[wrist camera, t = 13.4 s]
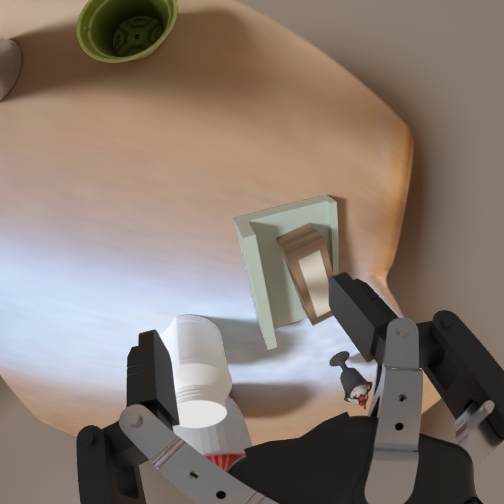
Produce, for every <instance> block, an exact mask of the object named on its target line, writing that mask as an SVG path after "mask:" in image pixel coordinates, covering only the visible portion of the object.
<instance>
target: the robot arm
mask: <svg viewBox="0 0 504 504" xmlns="http://www.w3.org/2000/svg"><path fill="white" fill-rule="evenodd" d="M21 62H22V57H21V50H20V48H19V46H18V44H17V43H15V42H14V41H12V40H8V39H4V38H0V100H2V99H3V98H4V97H5V96H6V95H7V94H8V93H9V92H10V90H11V89H12V87H13V86H14V84H15V82H16V80H17V77H18V75H19V72H20V68H21ZM329 307H330V310H331V312H332V314H333V315H334V316H335V318H336V319H337V321H338V322H339V323H340V325H341V326H342V328H343V329H344V330H345V332H346V333H347V335H348V336H349V337H350V339H351V340H352V342H353V343H354V345H355V346H356V347H357V349H358V350H359V352H360V353H361V355H362V356H363V357H364V359H365V360H366V362H369V361H371V360H373V359H375V360H376V361H377V363H378V364H377V369H376V376H375V383H374V390H373V396H372V401H371V405H370V409H369V413H368V416H352V417H350V416H349V415H348V413H347V412H345V413H342V414H340V415H338V416H336V417H333V418H331V419H329V420H326V421H324V422H322V423H321V424H319V425H318V426H316V427H315V428H314V429H312V430H311V431H309V432H308V433H306V434H305V435H303V436H302V437H300V438H295V439H287V440H277V441H269V442H266V443H263V444H259V445H256V446H252V447H249V448H245V449H244V451H245V455H244V456H242V457H240V458H239V459H237V460H236V461H235V462H234V463H233V464H232V465H231V466H230V467H229V468H228V469H227V470H226V472H225V471H224V470H223V469H221V468H220V467H218V466H217V465H215V464H214V463H213V462H211V461H210V460H209V459H207V458H206V457H205V456H203V455H202V454H201V453H199V452H198V451H197V450H195V449H194V448H193V447H192V446H190V445H189V444H188V443H187V442H185V441H184V440H183V439H181V438H180V437H178V436H177V435H176V434H175V433H174V432H173V426H176V425H180V422H179V415H178V408H177V401H176V394H175V386H174V378H173V369H172V361H171V357H170V354H169V352H168V350H167V348H166V347H165V345H164V343H163V341H162V340H161V338H160V336H159V334H158V332H157V331H156V330H151V331H147V332H143V333H140V334H139V342H138V346H135V347H132V348H131V351H130V353H129V355H128V357H127V368H128V369H127V407H126V409H124V410H123V412H122V413H121V415H120V418H119V421H117V422H116V423H114V424H112V425H110V426H107V427H105V428H103V429H100V428H99V427H97V426H94V425H89V426H86V427H84V428H83V429H82V430H81V431H80V432H79V434H78V436H77V467H78V468H77V469H78V483H79V493H80V502H81V504H146V501H145V496H144V491H143V486H142V481H141V476H140V471H139V465H140V464H142V463H144V462H146V461H148V460H150V461H151V462H152V463H153V465H154V467H155V468H156V469H157V470H158V471H159V472H160V473H161V474H162V475H164V476H165V477H166V478H167V479H168V480H169V481H170V482H171V483H172V484H173V485H175V486H176V487H177V488H178V489H179V490H180V491H182V492H183V493H184V494H185V495H186V496H188V497H189V498H190V499H191V500H193V501H194V502H195V503H197V504H483V503H482V502H481V501H480V500H479V498H478V496H477V494H476V491H475V486H474V477H473V476H474V474H473V473H474V469H473V467H474V466H476V465H477V464H478V463H479V462H481V461H482V460H483V459H484V458H485V457H486V456H487V455H489V454H490V453H491V452H492V451H494V450H495V449H496V448H498V447H499V446H501V445H502V444H503V443H504V371H503V369H502V368H501V367H500V366H499V364H498V363H497V362H496V361H495V359H494V358H493V357H492V356H491V354H490V353H489V352H488V351H487V350H486V348H485V347H484V346H483V345H482V344H481V342H480V341H479V340H478V339H477V338H476V337H475V335H474V334H473V333H472V332H471V331H470V330H469V329H468V328H467V326H466V325H465V324H464V323H463V322H462V321H461V320H460V319H459V317H458V316H457V315H456V314H454V313H453V312H450V311H446V310H443V311H439V312H437V313H436V314H435V315H434V317H433V320H432V321H429V322H424V323H418V324H415V323H414V322H412V321H411V320H409V319H406V318H399V317H398V316H397V315H396V314H395V313H394V312H393V311H392V310H391V309H390V307H389V306H388V305H387V304H386V303H385V302H384V301H383V300H382V299H381V298H379V296H378V295H377V293H376V292H374V290H373V289H372V288H371V287H370V286H369V285H368V284H367V283H365V282H363V281H361V280H359V279H356V280H353V279H352V278H351V277H350V276H349V275H348V274H347V273H346V272H343V273H340V274H337V275H334V276H331V277H330V278H329ZM419 368H422V369H423V371H424V372H425V374H426V375H427V377H428V378H429V380H430V381H431V382H432V384H433V385H434V387H435V388H436V390H437V391H438V393H439V394H440V396H441V397H442V399H443V400H444V402H445V403H446V405H447V407H448V408H449V409H450V411H451V413H452V414H453V416H454V417H455V419H456V423H455V427H454V430H455V437H456V439H457V442H458V443H457V444H454V443H451V442H447V441H443V440H440V439H437V438H434V437H430V436H427V435H424V434H421V433H419V432H420V422H421V410H422V392H423V371H422V369H419Z"/></svg>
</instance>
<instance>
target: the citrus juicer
mask: <svg viewBox="0 0 504 504" xmlns="http://www.w3.org/2000/svg"><path fill="white" fill-rule="evenodd" d="M225 403H226V408H227V415H226V417H225V418H224V419H223V420H222V421H220V422H219V423H217V424H215V425H212V426H208V427H203V428H186V427H181V426H178V425H176V426H173V432H174V433H175V434H176V435H177V436H178V437H180V438H181V439H183V440H184V441H185V442H187V443H188V444H189V445H190V446H192V447H193V448H194V449H195V450H197V451H198V452H199V453H201V454H202V455H203V456H205V457H206V458H207V459H209V460H210V461H211V462H213V463H214V464H215V465H217V466H218V467H220V468H221V469H223V470H224V471H225V472H226V470H227V469H228V468H229V467H230V466H231V465H232V464H233V463H234V462H235V461H236V460H237V459H239V458H240V457H242V456H244V455H245V451H244V449H245V448H249V447H252V443H251V439H250V436H249V432H248V429H247V425H246V422H245V419H244V417H243V415H242V413H241V411H240V409H239V407H238V406H237V404H236V402H235V400H234V399H233V398H232V397H231V396H230V394H229V395H228V397H227V398H226V400H225Z"/></svg>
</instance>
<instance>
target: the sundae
mask: <svg viewBox="0 0 504 504" xmlns="http://www.w3.org/2000/svg"><path fill="white" fill-rule="evenodd" d="M348 357H349V353H348V352H340V353H338V354H336V355H335V356H333V357H332V358H331V360H330V365H331V366H340V367H341V368H342V370H343V372H342V374H341V377H340V379H341V383H342V385H343V388H344V391H345V398H344V400H345V401H347V402H354V403H355V404H357V405H360V406H363V405H364V404H365V405H364V406H365V407H364V409H366V401H367V400H368V392H369V391H370V390H371V388H372V382H367V381H366V380H365V379H364V378H363V377H362V375H361V374H360V373H359V372H358V371H357V370H356V369H355V368H348V367H347V366H346V364H345V361H346V360H347V359H348Z"/></svg>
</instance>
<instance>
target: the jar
mask: <svg viewBox="0 0 504 504" xmlns="http://www.w3.org/2000/svg"><path fill="white" fill-rule="evenodd" d="M159 336H160V338H161V340H162V341H163V343H164V345H165V347H166V348H167V350H168V352H169V354H170V357H171V361H172V369H173V378H174V386H175V394H176V401H177V408H178V415H179V422H180V425H178V426H181V427H186V428H203V427H208V426H212V425H215V424H217V423H219V422H220V421H222V420H223V419H224V418H225V417H226V415H227V408H226V403H225V400H226V398H227V397H228V395H229V393H230V391H231V388H232V378H231V374H230V372H229V369H228V364H227V360H226V356H225V352H224V347H223V340H222V336H221V332H220V330H219V328H218V327H217V326H216V325H215V324H214V323H213V322H212V321H210V320H208V319H206V318H204V317H200V316H195V315H181V316H177V317H175V318H174V319H173V321H172V323H171V325H170V326H169V327H168V329H167V330H165V331H164V332H163V333H162V334H160V335H159Z"/></svg>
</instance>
